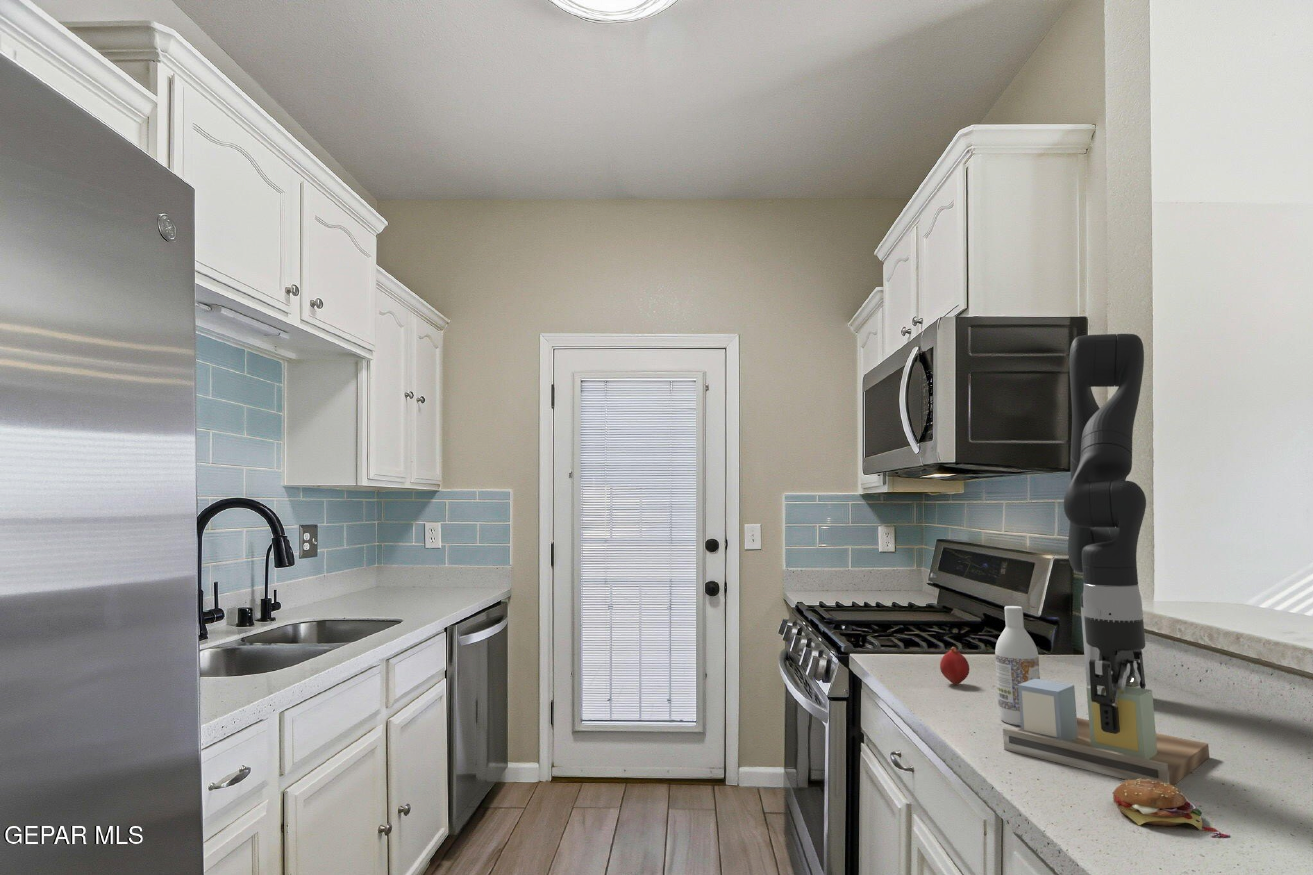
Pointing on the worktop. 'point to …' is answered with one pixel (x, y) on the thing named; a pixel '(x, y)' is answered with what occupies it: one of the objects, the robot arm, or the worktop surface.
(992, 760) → the worktop surface
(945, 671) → the onion
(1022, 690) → the box
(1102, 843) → the worktop surface
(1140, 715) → the tea box
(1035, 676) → the bath foam
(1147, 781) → the hamburger
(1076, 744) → the wooden slab
